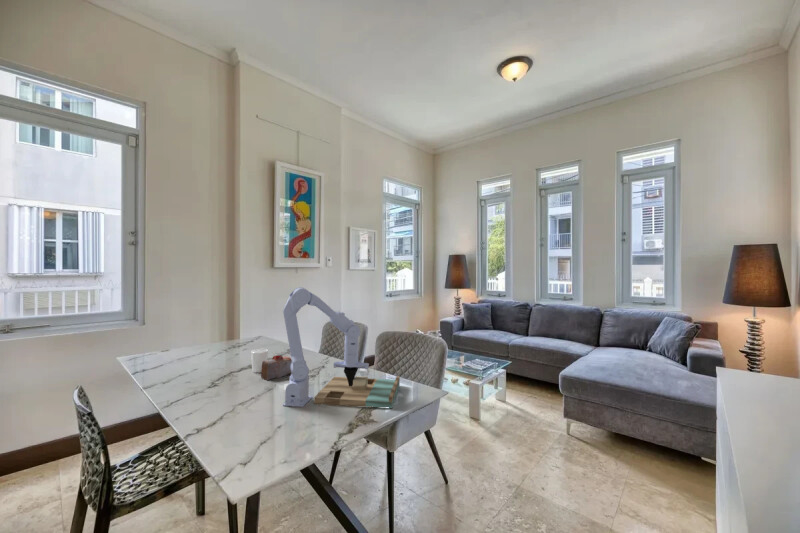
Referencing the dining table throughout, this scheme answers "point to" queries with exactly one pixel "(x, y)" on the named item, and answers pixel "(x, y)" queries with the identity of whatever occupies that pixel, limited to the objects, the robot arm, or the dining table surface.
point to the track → (359, 393)
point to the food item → (276, 367)
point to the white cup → (258, 359)
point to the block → (360, 383)
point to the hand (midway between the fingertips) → (350, 385)
